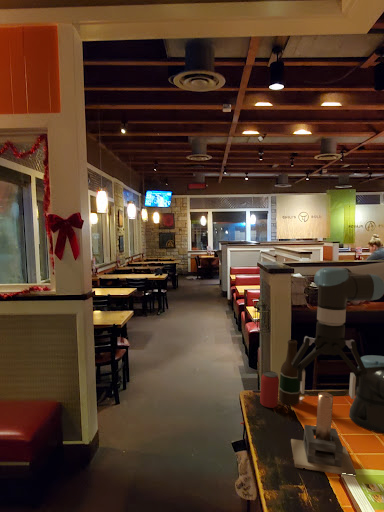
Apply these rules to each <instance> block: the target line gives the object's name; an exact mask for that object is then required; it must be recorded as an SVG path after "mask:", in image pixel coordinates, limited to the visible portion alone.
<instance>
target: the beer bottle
mask: <svg viewBox="0 0 384 512" xmlns="http://www.w3.org/2000/svg"><path fill="white" fill-rule="evenodd" d="M297 345H298V341H297V340H295V339H288V341H287V352H286V358H285V360H284V362H283V363H282V365H281V367H280V374H279V388H278V400H279V401H280V402H281V403H282V404H285V405H288V406H295V405H298V403H299V402H300V394H301V390H300V385H301V381H298V379H297V369H296V368H293V367H292V364H291V362H292V361H293V359H294V357H295V356H296V354H297V352H298V350H297V349H298V348H297Z"/></svg>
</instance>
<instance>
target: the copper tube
mask: <svg viewBox="0 0 384 512" xmlns="http://www.w3.org/2000/svg"><path fill="white" fill-rule="evenodd" d="M317 395H318V396H317V406H316V407H317V408H316V409H317V410H316V424H315V426H316V436H314V437H315V439H318V440H325V441H330V435H331V428H332V419H333V418H332V416H333V403H334V395H332V394H331V393H329V392H325V391H321V392H318V394H317ZM315 453H321V454H328V455H329V452H327V451H320V450H315Z"/></svg>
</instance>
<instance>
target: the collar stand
mask: <svg viewBox="0 0 384 512" xmlns="http://www.w3.org/2000/svg"><path fill="white" fill-rule="evenodd" d="M303 428H304V429H303V440H302V439H295V438H291V439H290V444H291V450H292V451H291V452H292V457H293V462H294V467H295V468H298V469H303V468H305V469H304V470H310V471H311V470H312V471H318V472H322V473H323V472H324V473H330V474H336V475H337V474H338V475H342V473H346V474H353V475H356V476H357V471H356V469H355V467H354V465H353V462H352V459H351V457H350V455H349V451H348V450H347V448H346V446H345V445H343V444H342V440H341V438H340V435H339V433H338V431H337V429H336V428H335V427H334V428H333V427H331V435H330V441H325V440H318V439H315V437H316V425H310V424H304V427H303ZM315 450H320V451H327V452H329V455H328V454H321V453H315Z"/></svg>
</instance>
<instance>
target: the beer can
mask: <svg viewBox="0 0 384 512" xmlns="http://www.w3.org/2000/svg"><path fill="white" fill-rule="evenodd" d="M279 388H280V377H279V376H278V373H277V372H276V371H272V370H264V371H263V372H262V376H261V378H260V390H259V391H260V394H259V395H260V396H259V397H260V398H259V403H260V404H261V405H262V406H263V407H265V408H269V409H273V408H275V407H277V406H278V404H279V403H278V402H279V401H278V400H279Z"/></svg>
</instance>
